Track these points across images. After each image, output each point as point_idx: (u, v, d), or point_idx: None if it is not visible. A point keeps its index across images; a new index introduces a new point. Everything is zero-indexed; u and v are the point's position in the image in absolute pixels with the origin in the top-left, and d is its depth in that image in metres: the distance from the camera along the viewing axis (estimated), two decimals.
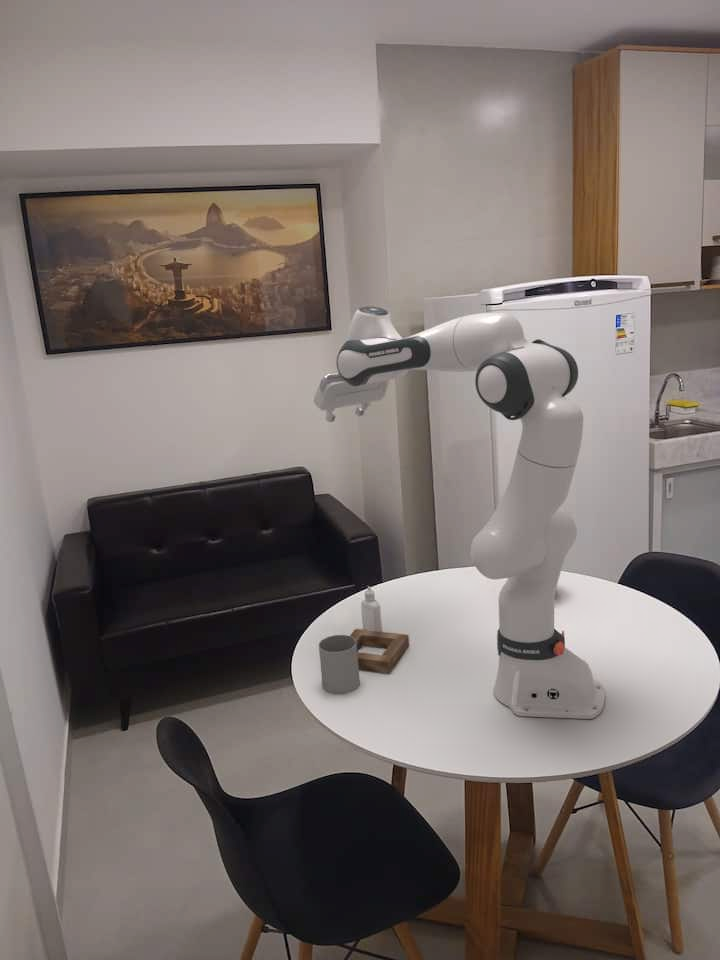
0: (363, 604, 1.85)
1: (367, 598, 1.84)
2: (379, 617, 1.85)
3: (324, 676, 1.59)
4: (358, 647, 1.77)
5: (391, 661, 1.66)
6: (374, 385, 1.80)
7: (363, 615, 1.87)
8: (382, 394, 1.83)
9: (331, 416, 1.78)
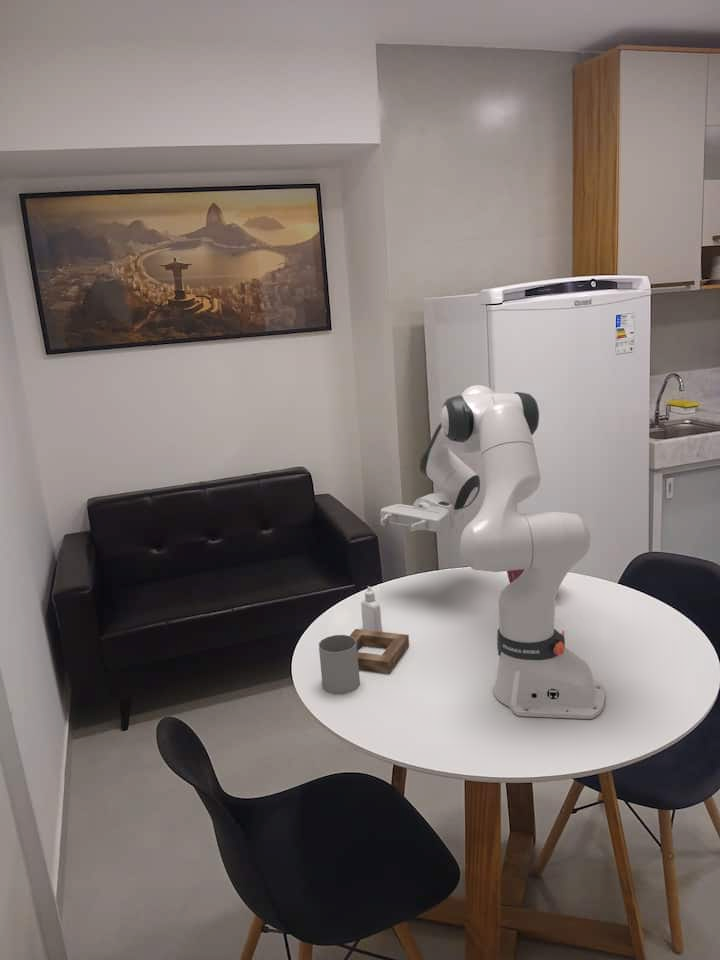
0: (363, 604, 1.85)
1: (367, 598, 1.84)
2: (379, 617, 1.85)
3: (324, 676, 1.59)
4: (358, 647, 1.77)
5: (391, 661, 1.66)
6: (434, 513, 1.93)
7: (363, 615, 1.87)
8: (438, 516, 1.88)
9: (385, 517, 1.95)
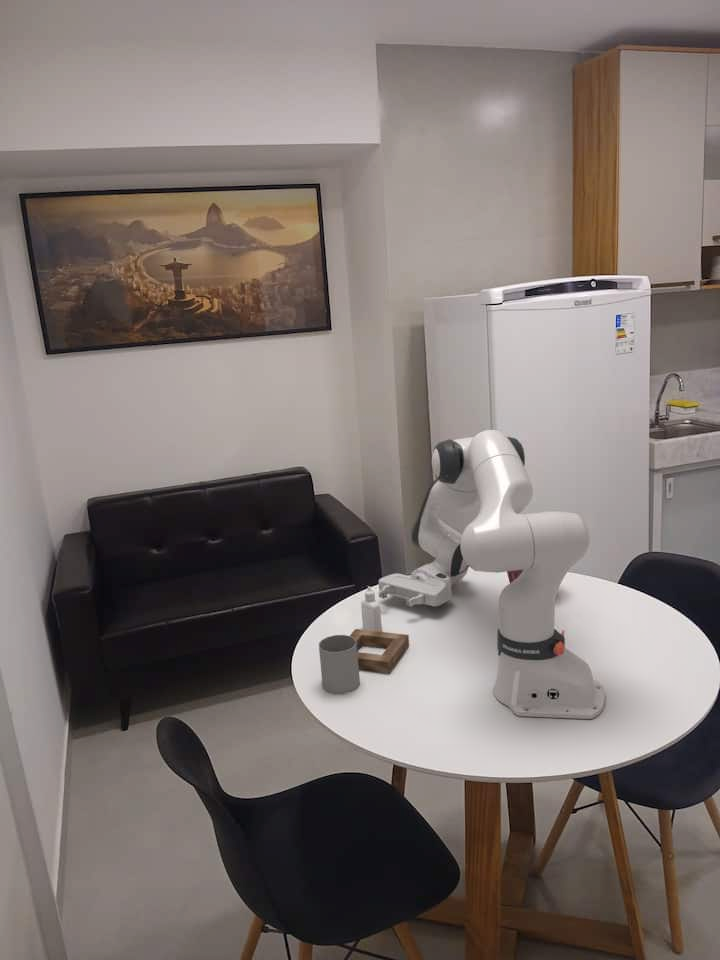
0: (363, 604, 1.85)
1: (367, 598, 1.84)
2: (379, 617, 1.85)
3: (324, 676, 1.59)
4: (358, 647, 1.77)
5: (391, 661, 1.66)
6: (432, 586, 1.95)
7: (363, 615, 1.87)
8: (435, 591, 1.91)
9: (383, 589, 1.97)
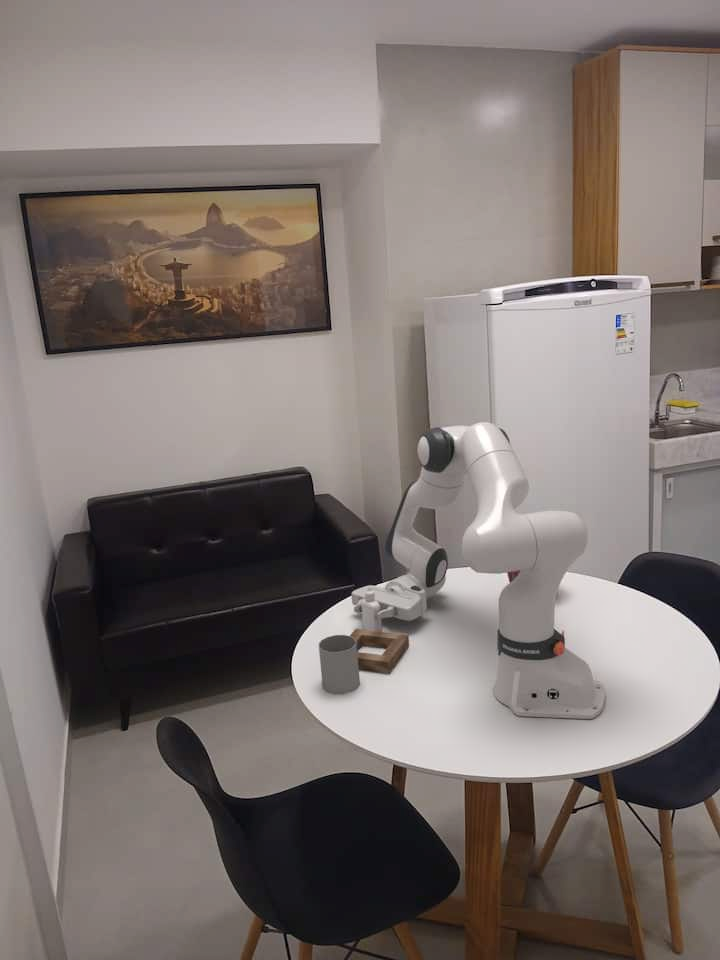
0: (363, 604, 1.85)
1: (367, 598, 1.84)
2: None
3: (324, 676, 1.59)
4: (358, 647, 1.77)
5: (391, 661, 1.66)
6: (406, 599, 1.88)
7: (363, 615, 1.87)
8: (409, 604, 1.83)
9: (359, 603, 1.89)
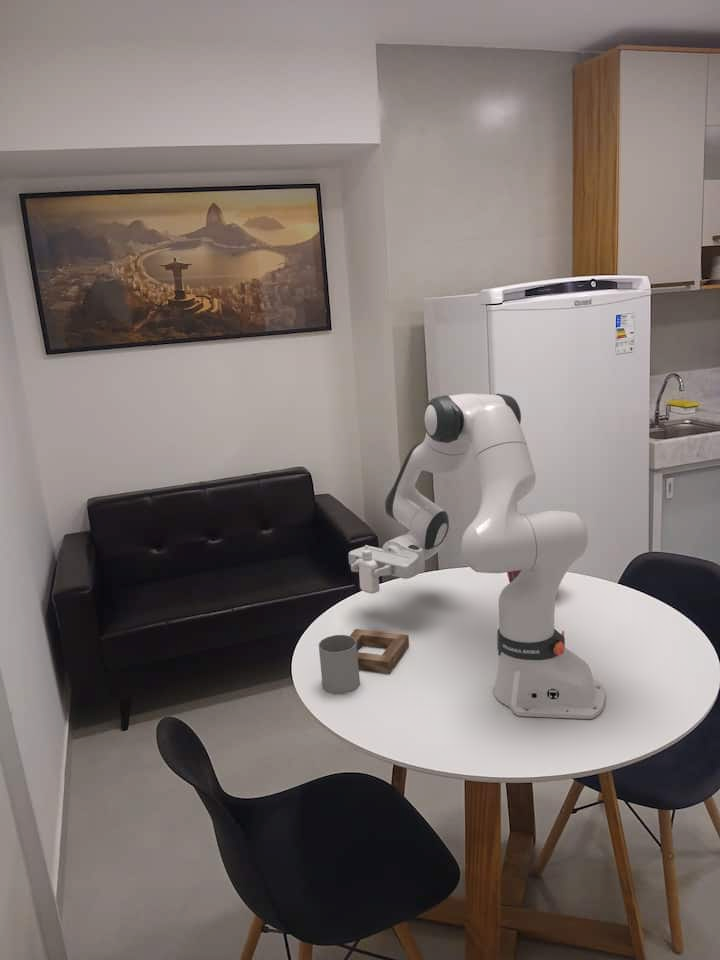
0: (360, 563, 1.83)
1: (364, 557, 1.82)
2: None
3: (324, 676, 1.59)
4: (358, 647, 1.77)
5: (391, 661, 1.66)
6: (404, 558, 1.85)
7: (360, 574, 1.84)
8: (406, 562, 1.80)
9: (356, 562, 1.86)
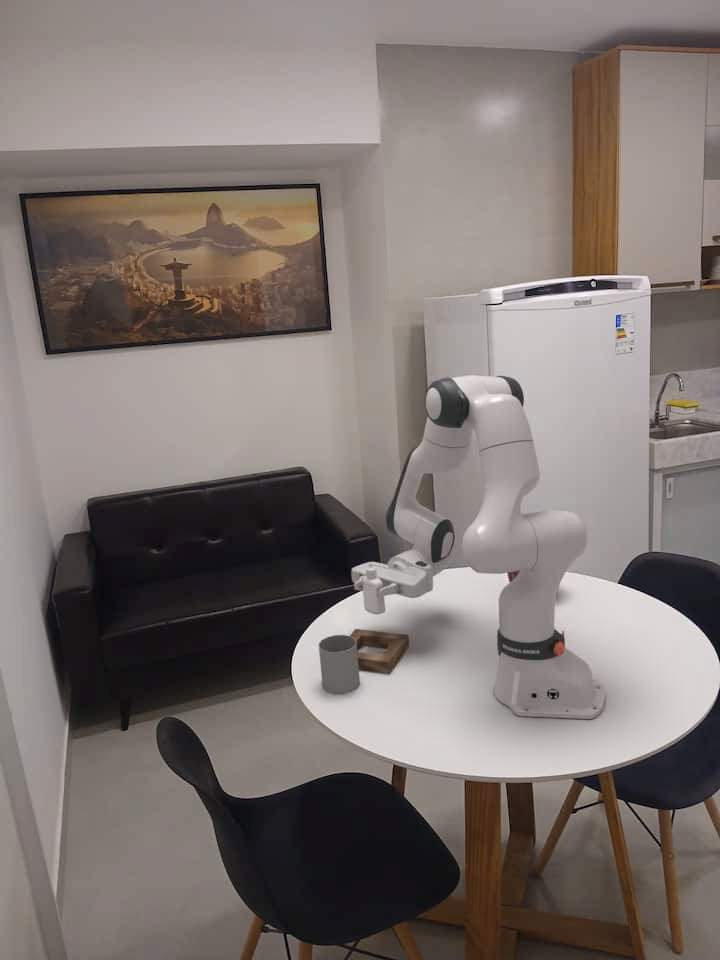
0: (364, 582, 1.71)
1: (368, 575, 1.70)
2: None
3: (324, 676, 1.59)
4: (358, 647, 1.77)
5: (391, 661, 1.66)
6: (411, 575, 1.73)
7: (364, 594, 1.72)
8: (414, 580, 1.68)
9: (359, 580, 1.74)
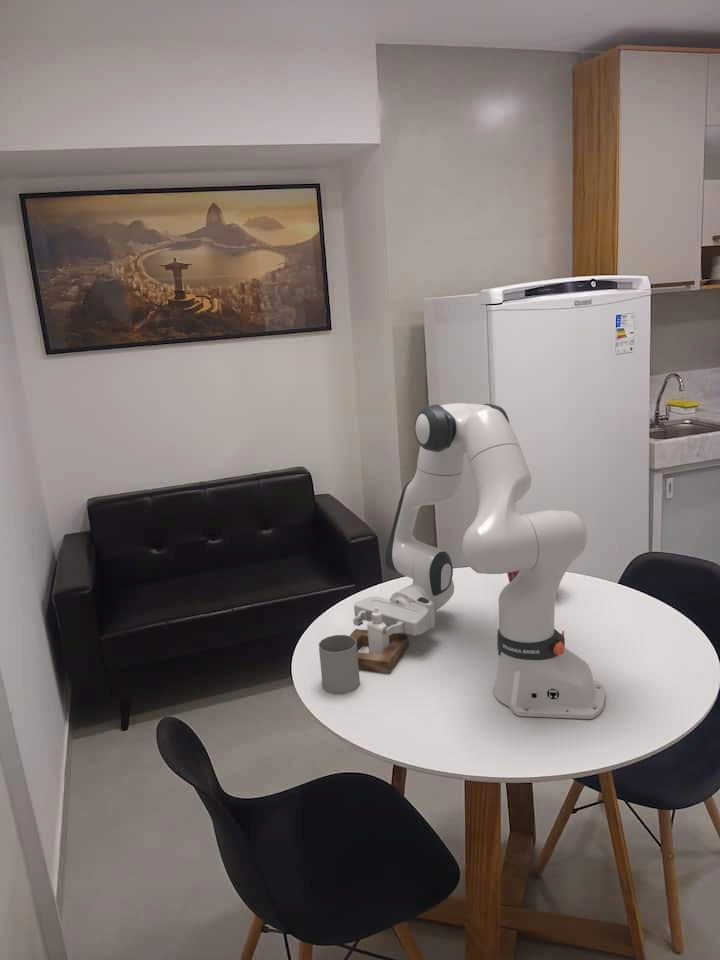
0: (370, 626, 1.73)
1: (374, 620, 1.72)
2: (387, 640, 1.72)
3: (324, 676, 1.59)
4: (358, 647, 1.77)
5: (391, 661, 1.66)
6: (413, 612, 1.75)
7: (370, 638, 1.74)
8: (416, 618, 1.71)
9: (358, 615, 1.77)
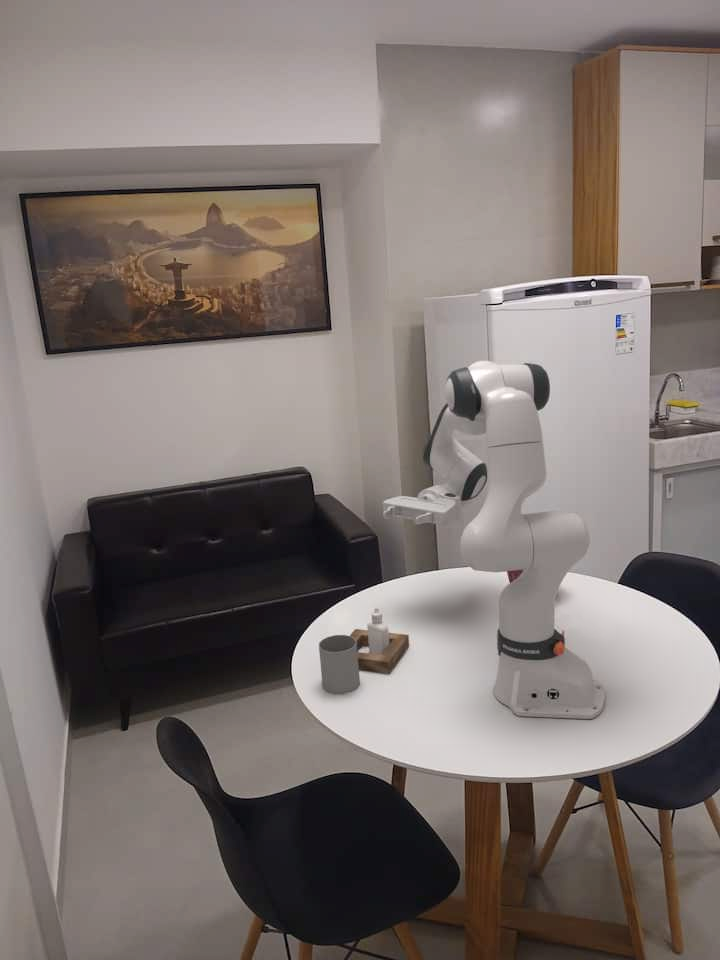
0: (370, 626, 1.73)
1: (374, 620, 1.72)
2: (387, 640, 1.72)
3: (324, 676, 1.59)
4: (358, 647, 1.77)
5: (391, 661, 1.66)
6: (440, 505, 1.82)
7: (370, 638, 1.74)
8: (444, 508, 1.77)
9: (388, 509, 1.84)
